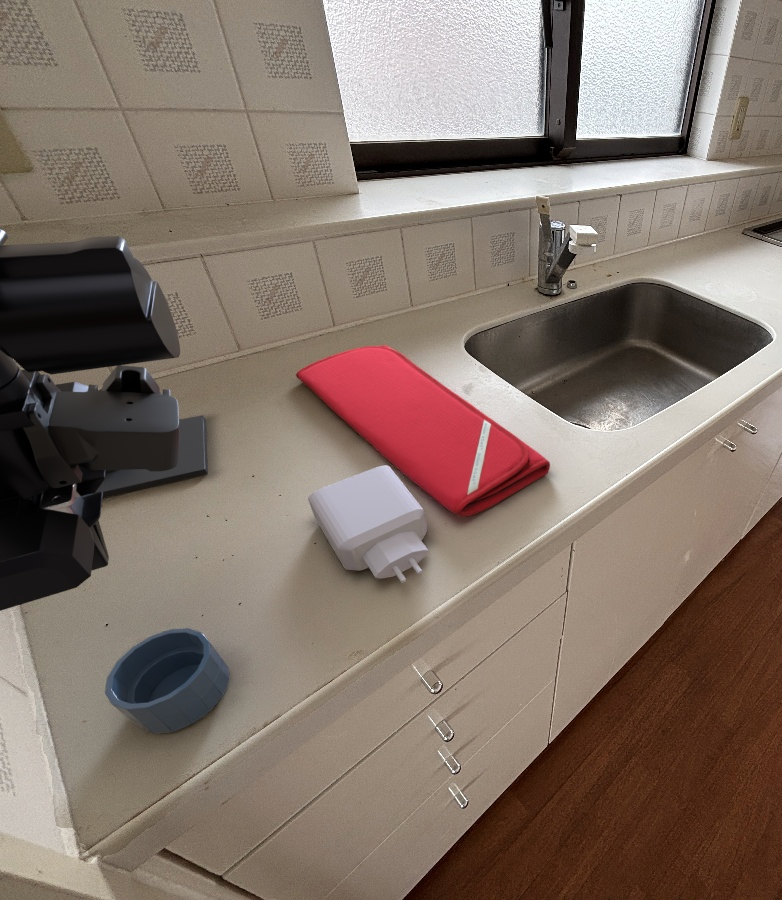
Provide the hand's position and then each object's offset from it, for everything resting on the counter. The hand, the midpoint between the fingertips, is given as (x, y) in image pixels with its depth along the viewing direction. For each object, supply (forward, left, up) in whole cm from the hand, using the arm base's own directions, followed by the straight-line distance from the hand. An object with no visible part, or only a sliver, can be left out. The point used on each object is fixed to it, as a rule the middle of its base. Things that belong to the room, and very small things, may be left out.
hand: (99, 564), depth 36 cm
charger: (+19, +4, -13) cm, 23 cm away
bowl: (+1, -5, -13) cm, 14 cm away
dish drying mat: (+28, +25, -13) cm, 40 cm away
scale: (-3, +30, -13) cm, 33 cm away
